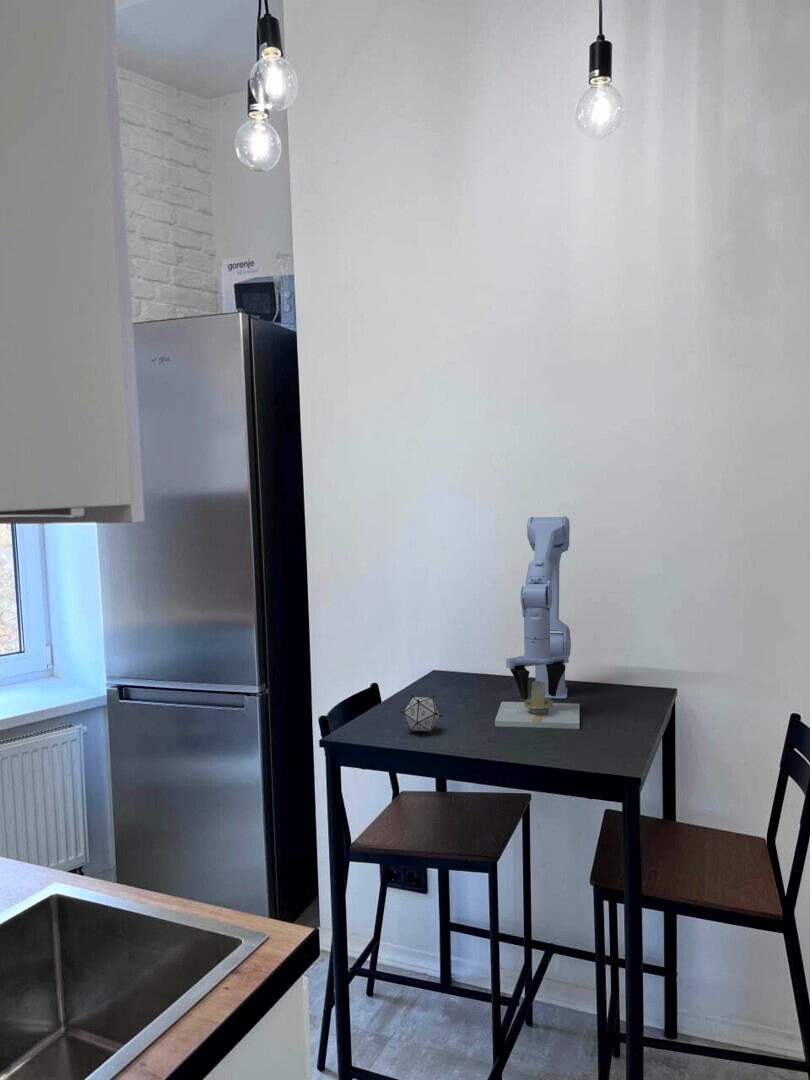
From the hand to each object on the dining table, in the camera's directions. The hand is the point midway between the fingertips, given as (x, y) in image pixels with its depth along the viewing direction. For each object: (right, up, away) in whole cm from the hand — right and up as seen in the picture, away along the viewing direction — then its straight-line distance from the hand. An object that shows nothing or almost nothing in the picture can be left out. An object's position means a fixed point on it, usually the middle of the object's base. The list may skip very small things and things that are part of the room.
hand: (538, 697), depth 189 cm
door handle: (0, -2, 0) cm, 2 cm away
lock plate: (0, -5, 0) cm, 5 cm away
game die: (-26, -6, -9) cm, 28 cm away
